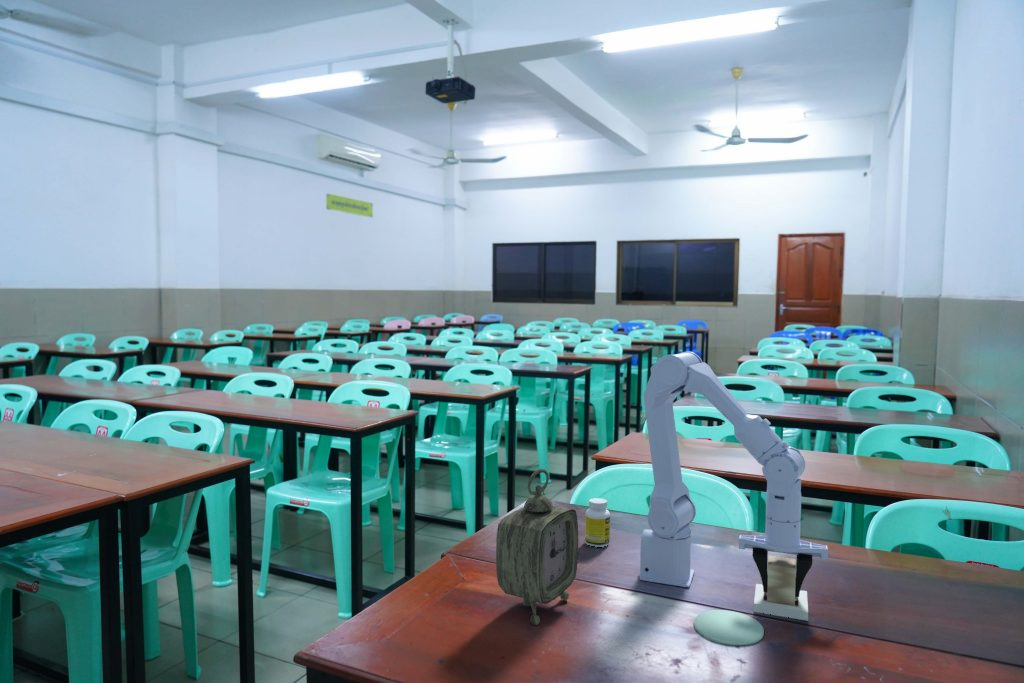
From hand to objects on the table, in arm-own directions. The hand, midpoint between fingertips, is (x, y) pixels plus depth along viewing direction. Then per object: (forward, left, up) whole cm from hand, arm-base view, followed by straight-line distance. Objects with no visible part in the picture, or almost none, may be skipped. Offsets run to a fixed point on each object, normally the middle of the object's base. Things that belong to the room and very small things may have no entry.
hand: (781, 592), depth 121 cm
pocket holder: (0, 0, -2) cm, 2 cm away
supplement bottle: (-38, +17, -3) cm, 42 cm away
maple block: (0, 0, -2) cm, 2 cm away
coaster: (-8, -12, -2) cm, 15 cm away
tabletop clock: (-40, -17, -3) cm, 44 cm away
